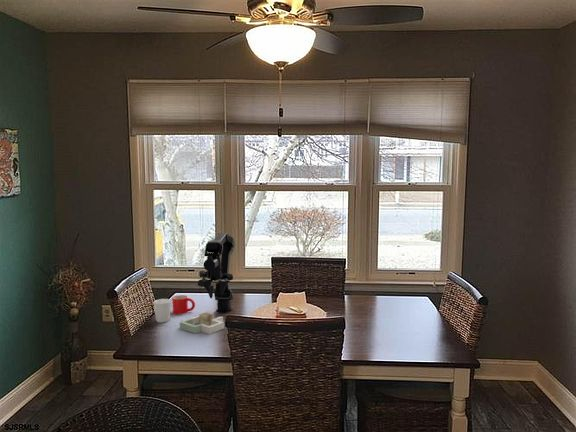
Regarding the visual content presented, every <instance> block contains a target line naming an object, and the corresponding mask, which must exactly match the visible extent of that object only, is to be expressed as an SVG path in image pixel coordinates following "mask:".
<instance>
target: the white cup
mask: <svg viewBox="0 0 576 432" xmlns="http://www.w3.org/2000/svg"><path fill="white" fill-rule="evenodd" d="M153 305H154V308H153V309H154V313H155V320H156V321H155V322H157V323H167V322H169V321H170V320H171V300H170V299H169V298H159V299H156V300H154V301H153Z"/></svg>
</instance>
